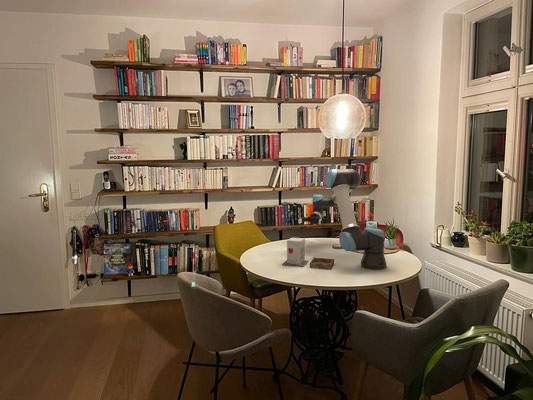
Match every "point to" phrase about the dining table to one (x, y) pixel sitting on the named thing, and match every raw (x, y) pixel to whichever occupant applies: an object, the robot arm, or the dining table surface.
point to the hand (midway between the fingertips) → (309, 222)
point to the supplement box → (295, 250)
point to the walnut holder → (320, 261)
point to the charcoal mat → (295, 264)
